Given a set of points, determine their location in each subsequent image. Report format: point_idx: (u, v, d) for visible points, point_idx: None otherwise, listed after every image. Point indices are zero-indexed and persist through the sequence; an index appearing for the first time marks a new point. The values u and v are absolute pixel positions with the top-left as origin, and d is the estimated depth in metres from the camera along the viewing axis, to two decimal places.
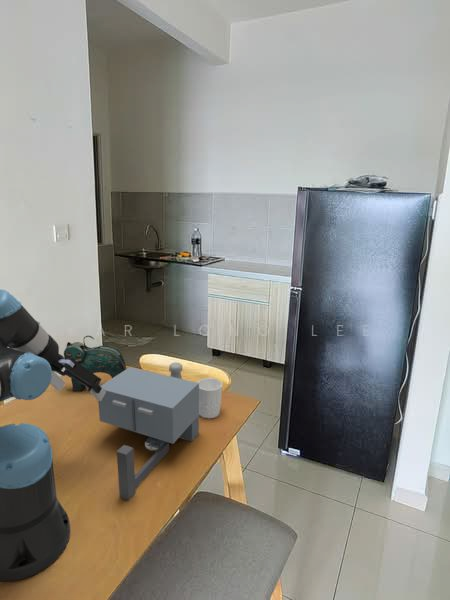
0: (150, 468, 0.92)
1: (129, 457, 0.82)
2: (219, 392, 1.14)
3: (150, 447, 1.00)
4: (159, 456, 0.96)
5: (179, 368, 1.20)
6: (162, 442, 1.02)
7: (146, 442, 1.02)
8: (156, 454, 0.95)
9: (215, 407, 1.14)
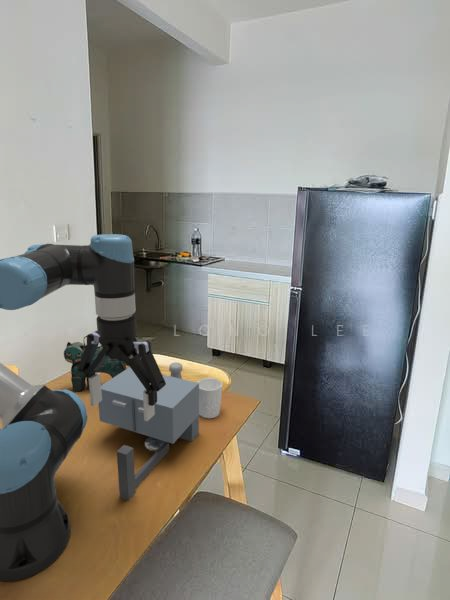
0: (150, 468, 0.92)
1: (129, 457, 0.82)
2: (219, 392, 1.14)
3: (150, 447, 1.00)
4: (159, 456, 0.96)
5: (179, 368, 1.20)
6: (162, 442, 1.02)
7: (146, 442, 1.02)
8: (156, 454, 0.95)
9: (215, 407, 1.14)
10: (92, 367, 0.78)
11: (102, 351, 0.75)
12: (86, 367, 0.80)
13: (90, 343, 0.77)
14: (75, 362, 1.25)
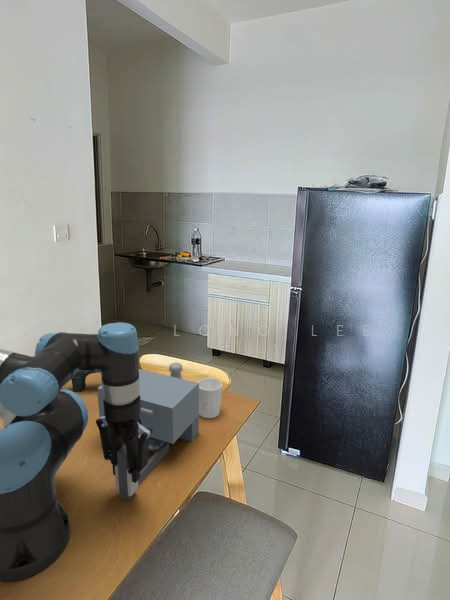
0: (150, 468, 0.92)
1: None
2: (219, 392, 1.14)
3: (152, 446, 1.00)
4: (159, 456, 0.96)
5: (179, 368, 1.20)
6: (162, 441, 1.03)
7: None
8: (156, 454, 0.95)
9: (215, 407, 1.14)
10: (113, 453, 0.82)
11: (112, 432, 0.80)
12: None
13: (101, 427, 0.81)
14: None
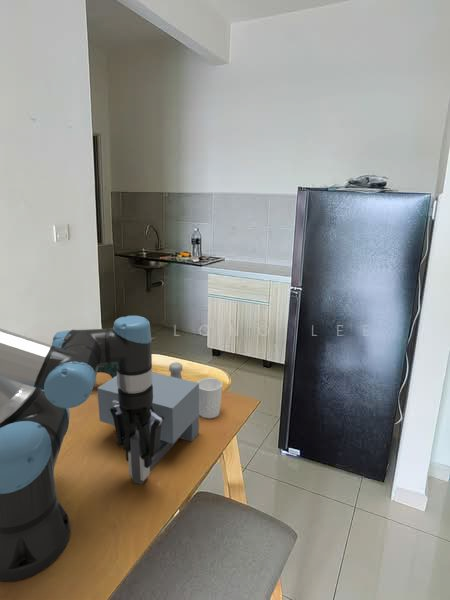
0: (161, 455, 0.97)
1: None
2: (219, 392, 1.14)
3: None
4: (169, 444, 1.00)
5: (179, 368, 1.20)
6: None
7: None
8: (166, 442, 0.99)
9: (215, 407, 1.14)
10: (127, 439, 0.86)
11: (126, 420, 0.84)
12: None
13: (115, 415, 0.86)
14: None
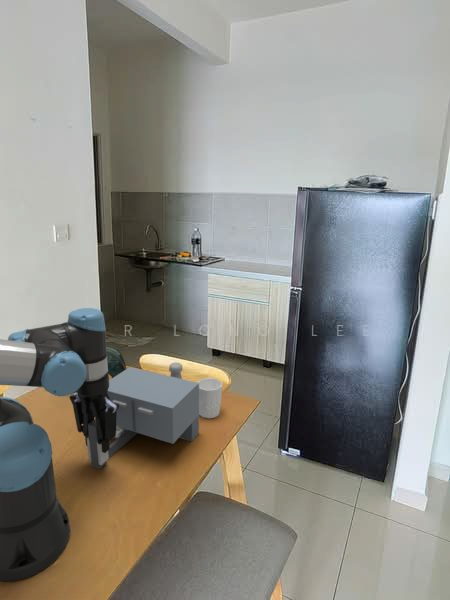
0: (122, 442, 1.01)
1: None
2: (219, 392, 1.14)
3: None
4: (132, 432, 1.05)
5: (179, 368, 1.20)
6: None
7: None
8: (129, 430, 1.04)
9: (215, 407, 1.14)
10: (85, 425, 0.91)
11: (83, 407, 0.89)
12: None
13: (74, 402, 0.91)
14: None
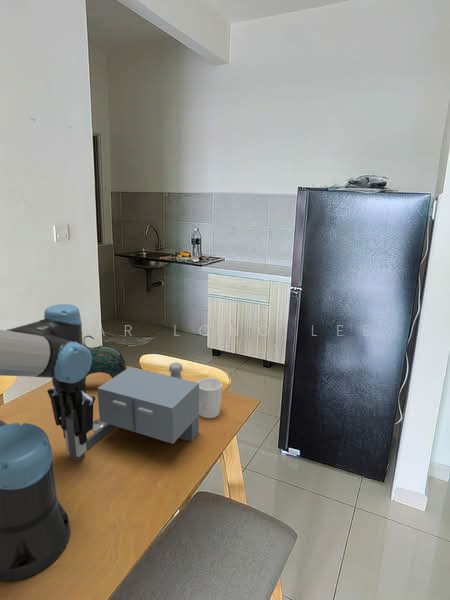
0: (101, 435, 1.04)
1: None
2: (219, 392, 1.14)
3: None
4: (110, 425, 1.08)
5: (179, 368, 1.20)
6: None
7: (93, 427, 1.08)
8: (107, 423, 1.07)
9: (215, 407, 1.14)
10: (63, 418, 0.94)
11: (60, 400, 0.92)
12: None
13: (52, 396, 0.93)
14: None
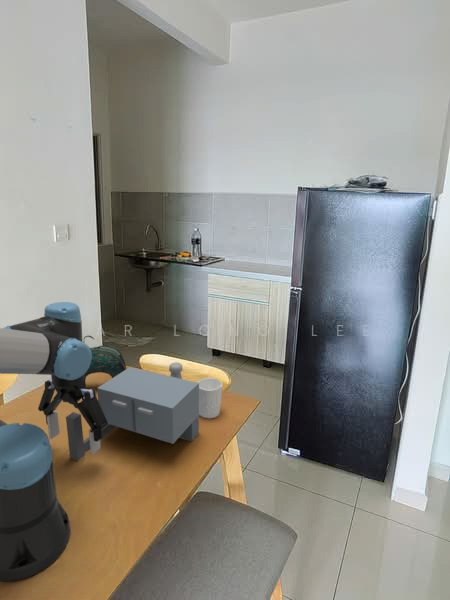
0: None
1: (77, 422, 0.94)
2: (219, 392, 1.14)
3: None
4: (110, 426, 1.08)
5: (179, 368, 1.20)
6: None
7: None
8: None
9: (215, 407, 1.14)
10: (49, 407, 0.94)
11: (56, 395, 0.92)
12: (45, 406, 0.97)
13: (47, 388, 0.93)
14: None
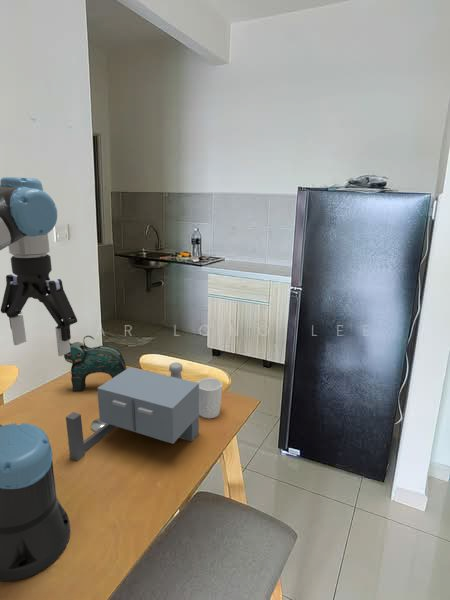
0: (101, 435, 1.04)
1: (77, 422, 0.94)
2: (219, 392, 1.14)
3: None
4: (110, 426, 1.08)
5: (179, 368, 1.20)
6: None
7: (95, 427, 1.08)
8: (107, 424, 1.07)
9: (215, 407, 1.14)
10: (13, 307, 0.83)
11: (19, 290, 0.81)
12: (9, 308, 0.86)
13: (9, 283, 0.82)
14: (75, 362, 1.25)
